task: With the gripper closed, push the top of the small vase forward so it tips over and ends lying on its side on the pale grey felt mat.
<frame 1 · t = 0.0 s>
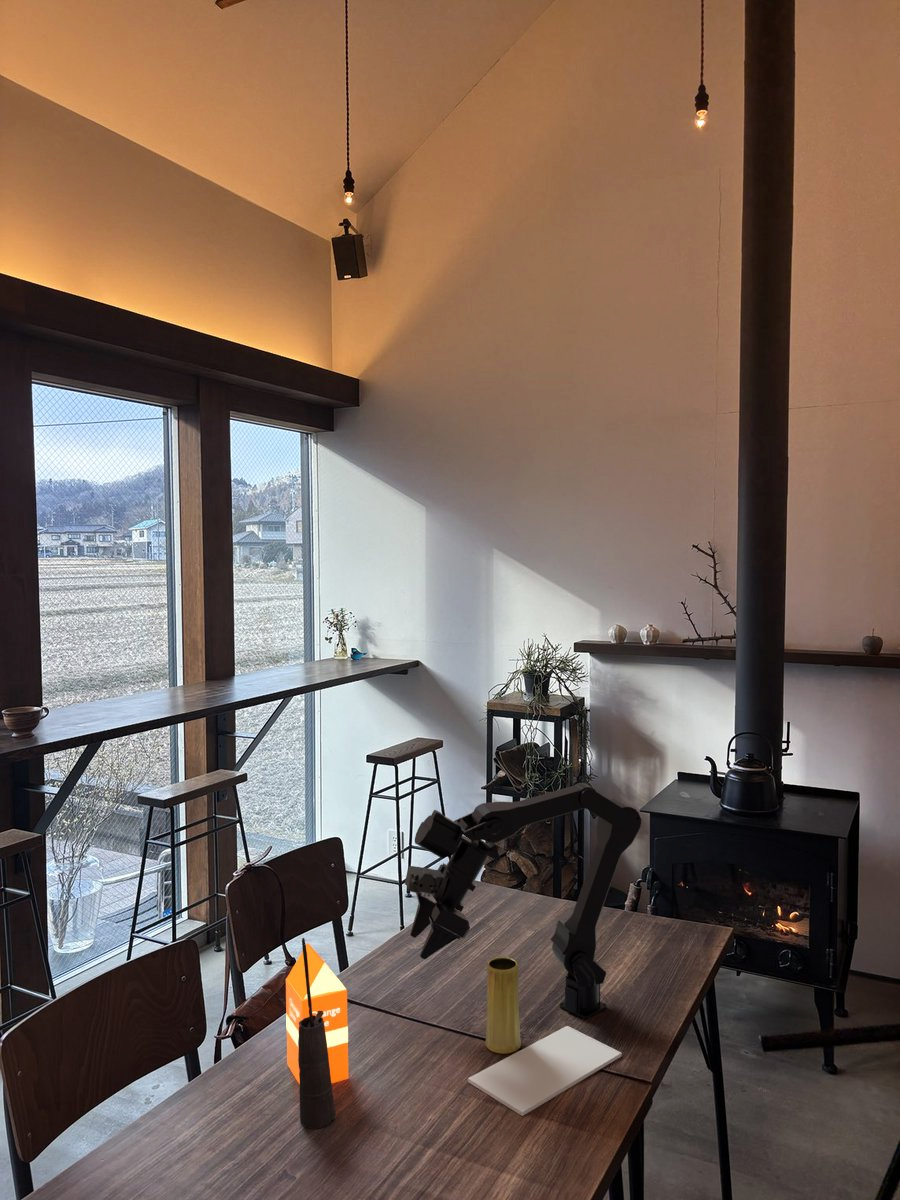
hand: (417, 946, 158), 15 cm above the table, tool tilted 35°, fingers open, 9 cm apart
mat: (546, 1068, 145), on the table
vase: (503, 1046, 153), on the table
orange juice: (317, 1072, 146), on the table
butter churn: (320, 1115, 134), on the table
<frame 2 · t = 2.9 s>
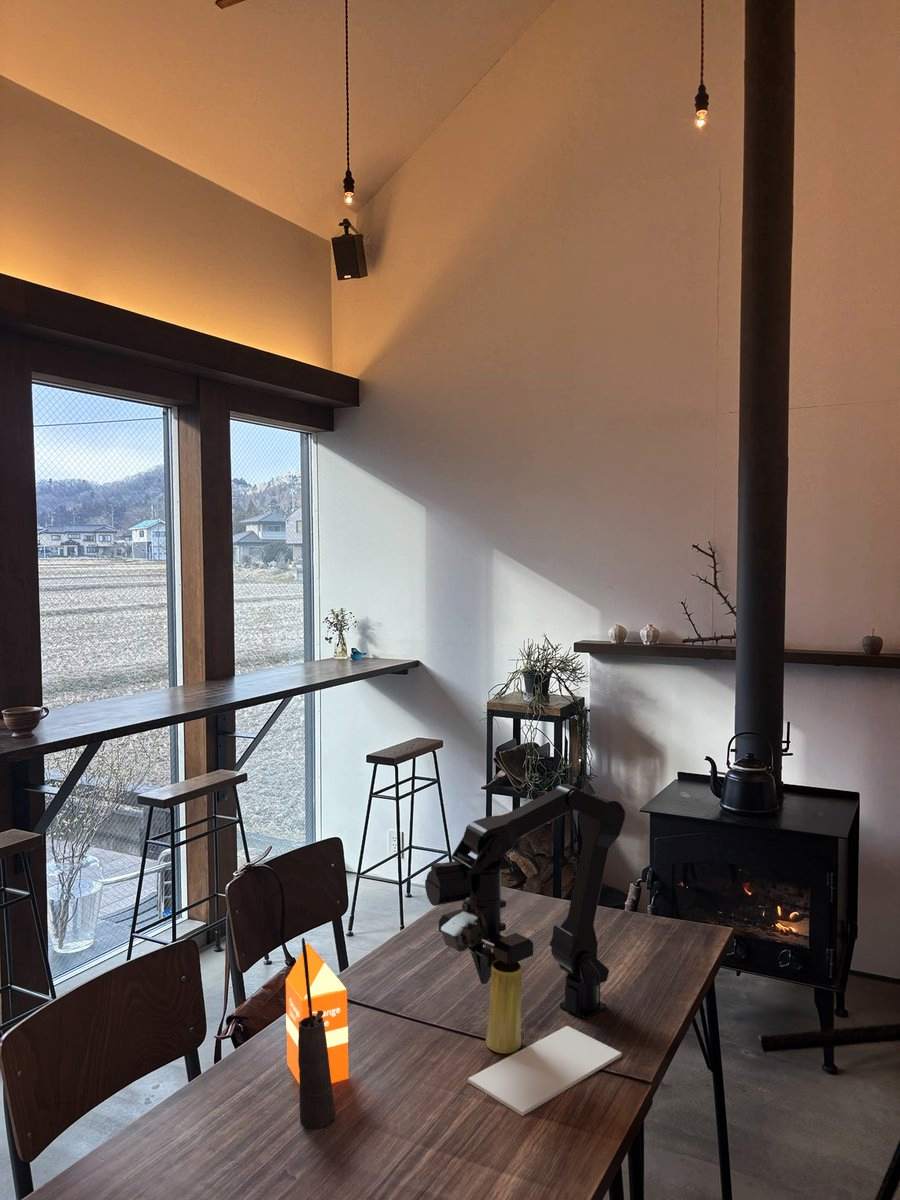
hand: (484, 983, 156), 9 cm above the table, tool pointing down, fingers closed
vase: (503, 1044, 153), on the table, touching gripper
everything else where it was.
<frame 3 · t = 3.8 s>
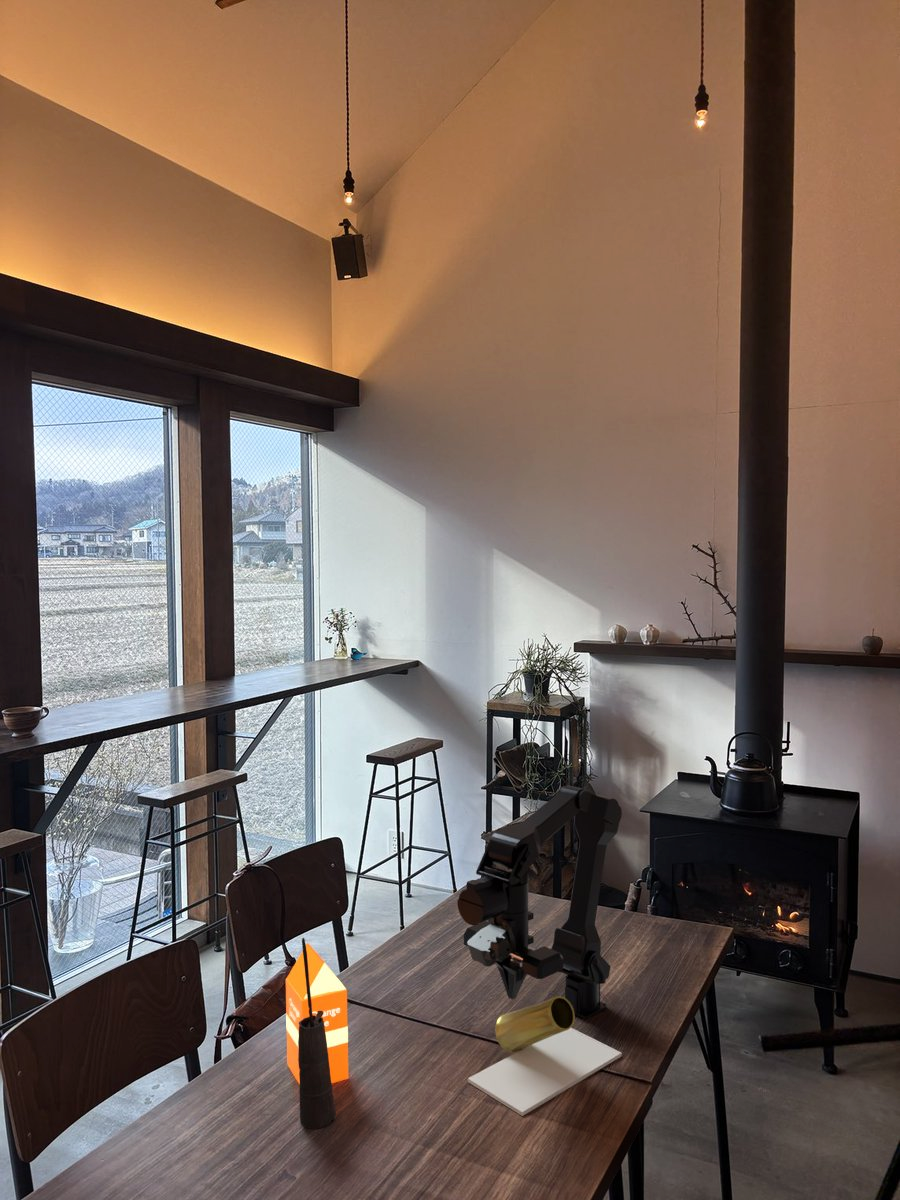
hand: (512, 998, 151), 9 cm above the table, tool pointing down, fingers closed
vase: (508, 1033, 152), point 2 cm above the table
everything else where it was.
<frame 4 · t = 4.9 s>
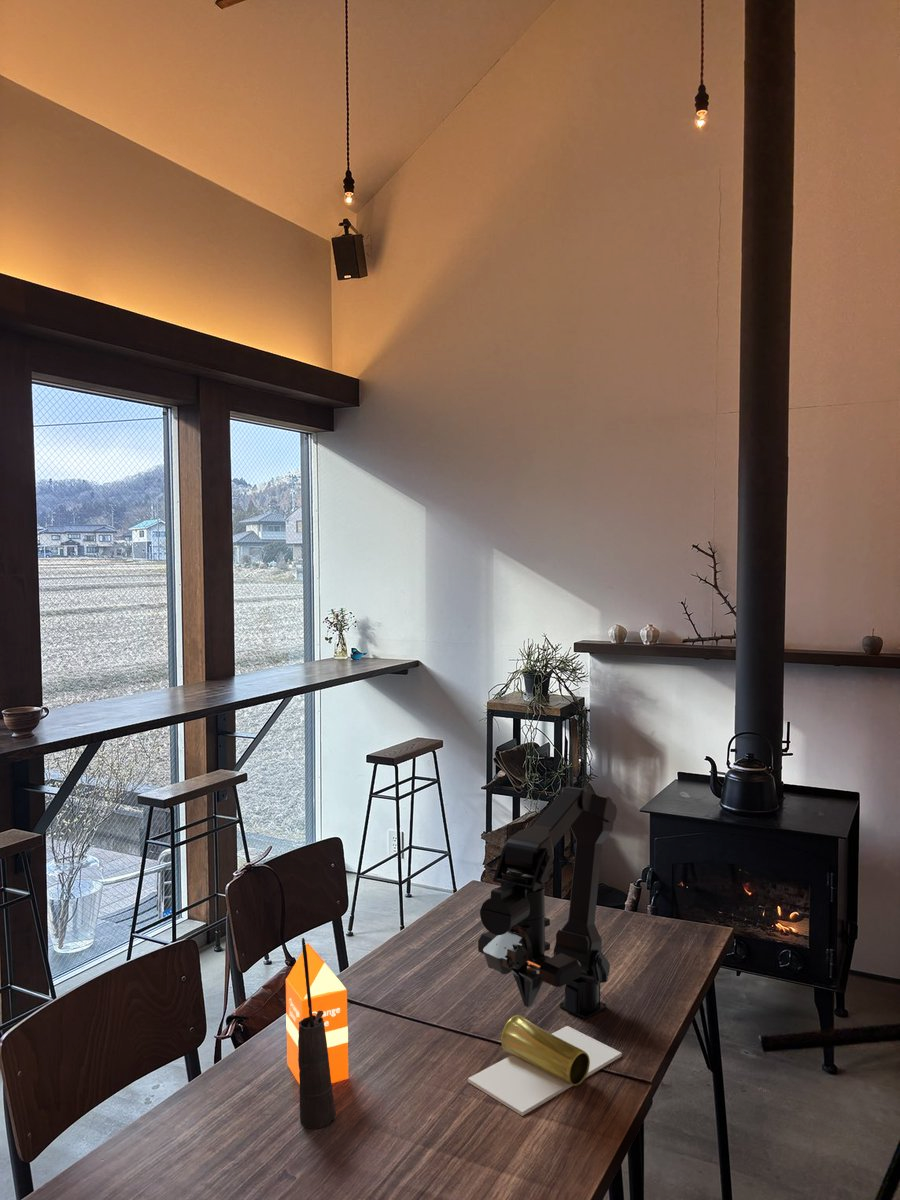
hand: (528, 1005, 148), 9 cm above the table, tool pointing down, fingers closed
vase: (512, 1032, 150), point 3 cm above the table, touching mat
everything else where it was.
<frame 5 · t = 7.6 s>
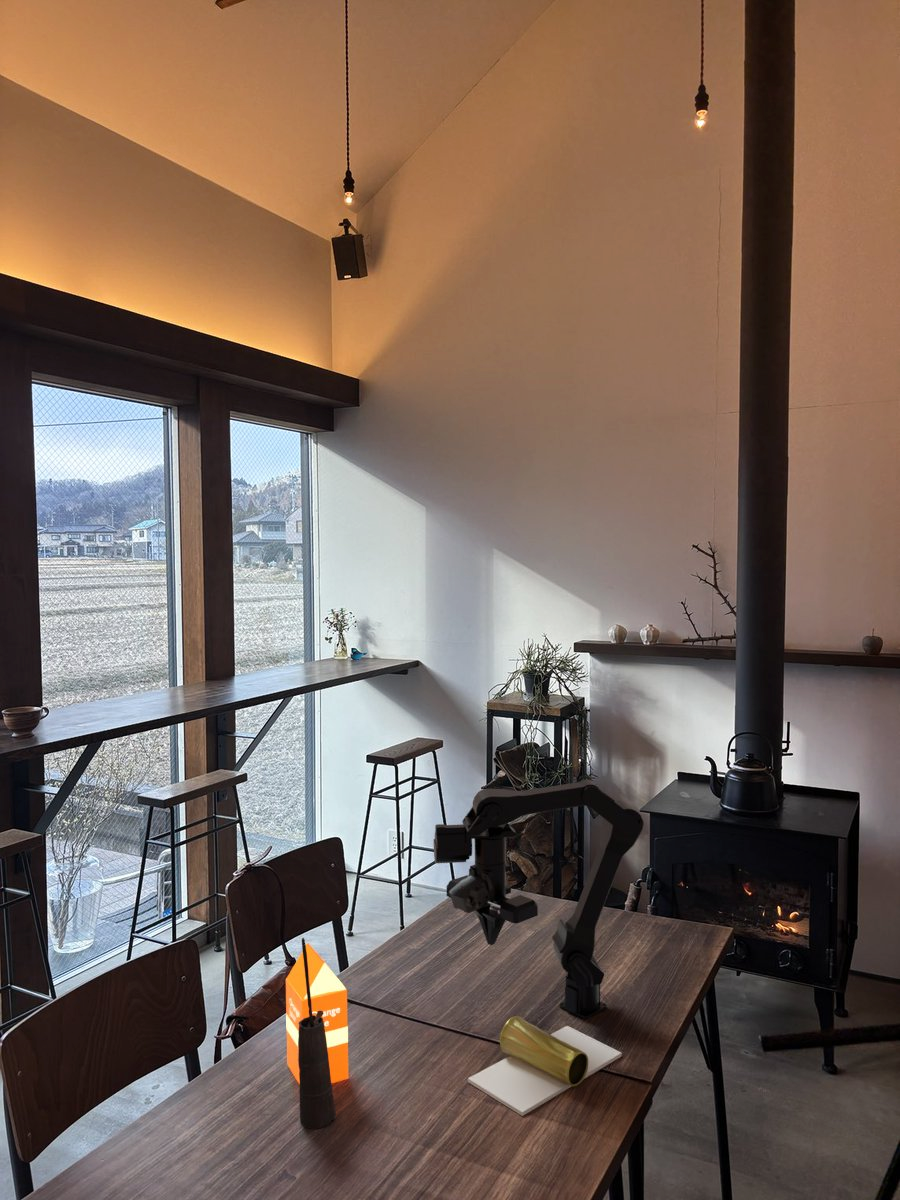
hand: (491, 944, 163), 13 cm above the table, tool pointing down, fingers closed
nothing on the table moved.
at the end: vase tilted 91°; vase inside the target area (3.8 cm from its centre), point 3.3 cm above the table; vase touching mat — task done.
